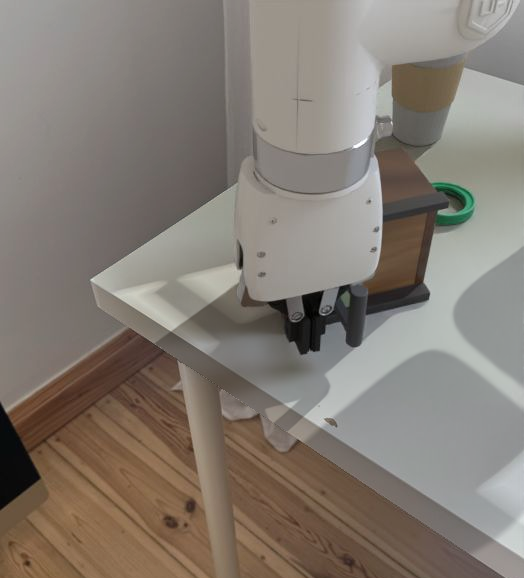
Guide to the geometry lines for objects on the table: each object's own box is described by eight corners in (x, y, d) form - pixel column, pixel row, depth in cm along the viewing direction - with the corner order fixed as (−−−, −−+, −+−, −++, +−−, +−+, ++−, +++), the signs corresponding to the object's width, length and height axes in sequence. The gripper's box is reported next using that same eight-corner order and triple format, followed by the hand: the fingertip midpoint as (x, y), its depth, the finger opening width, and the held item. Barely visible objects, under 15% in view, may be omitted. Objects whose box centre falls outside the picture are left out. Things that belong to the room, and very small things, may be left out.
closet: (429, 300, 69) (450, 200, 61) (289, 333, 67) (290, 235, 58) (388, 238, 75) (403, 140, 67) (259, 267, 73) (256, 168, 64)
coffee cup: (464, 121, 90) (491, -4, 78) (443, 162, 84) (469, 34, 73) (391, 105, 92) (406, -18, 81) (366, 144, 87) (379, 18, 75)
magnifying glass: (470, 192, 80) (474, 179, 79) (476, 227, 76) (479, 214, 75) (332, 186, 82) (333, 173, 80) (330, 220, 78) (331, 207, 76)
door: (387, 352, 63) (400, 274, 57) (311, 371, 62) (315, 294, 55) (357, 299, 68) (366, 220, 61) (286, 316, 67) (286, 237, 60)
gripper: (396, 98, 50) (370, 291, 64) (183, 136, 47) (204, 329, 61) (446, 158, 45) (406, 352, 59) (212, 204, 43) (228, 397, 56)
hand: (304, 340), depth 60 cm, fingers closed
